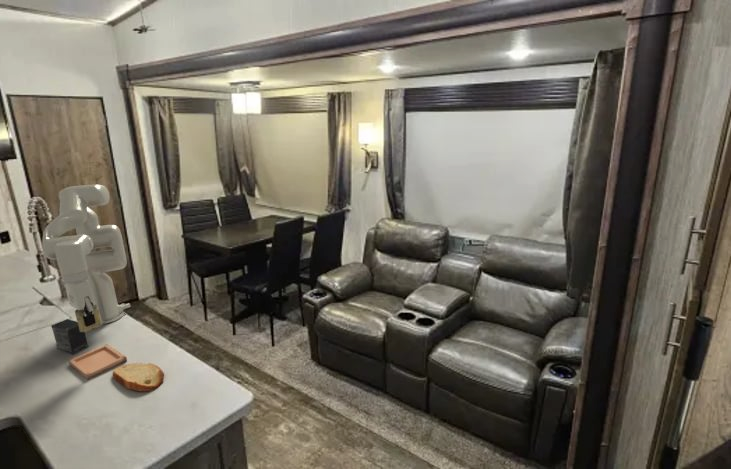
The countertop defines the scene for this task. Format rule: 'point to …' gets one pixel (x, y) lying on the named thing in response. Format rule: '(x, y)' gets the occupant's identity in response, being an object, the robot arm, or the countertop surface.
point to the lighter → (81, 322)
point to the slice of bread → (139, 376)
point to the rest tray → (97, 361)
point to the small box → (69, 336)
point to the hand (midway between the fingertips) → (88, 322)
